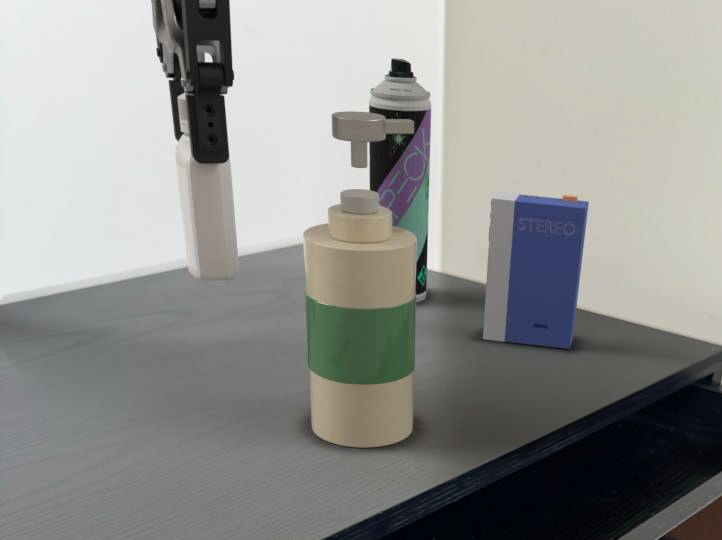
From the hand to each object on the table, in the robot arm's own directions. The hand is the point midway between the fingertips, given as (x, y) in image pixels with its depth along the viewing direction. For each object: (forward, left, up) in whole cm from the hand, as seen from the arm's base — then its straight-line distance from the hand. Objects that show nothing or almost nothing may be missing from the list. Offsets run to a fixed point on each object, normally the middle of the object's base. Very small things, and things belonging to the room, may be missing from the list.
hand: (201, 151), depth 63 cm
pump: (+9, -8, +1) cm, 12 cm away
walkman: (+28, +6, -17) cm, 33 cm away
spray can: (+21, +21, -17) cm, 34 cm away
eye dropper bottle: (0, 0, -8) cm, 8 cm away
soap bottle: (+8, -8, -16) cm, 20 cm away
